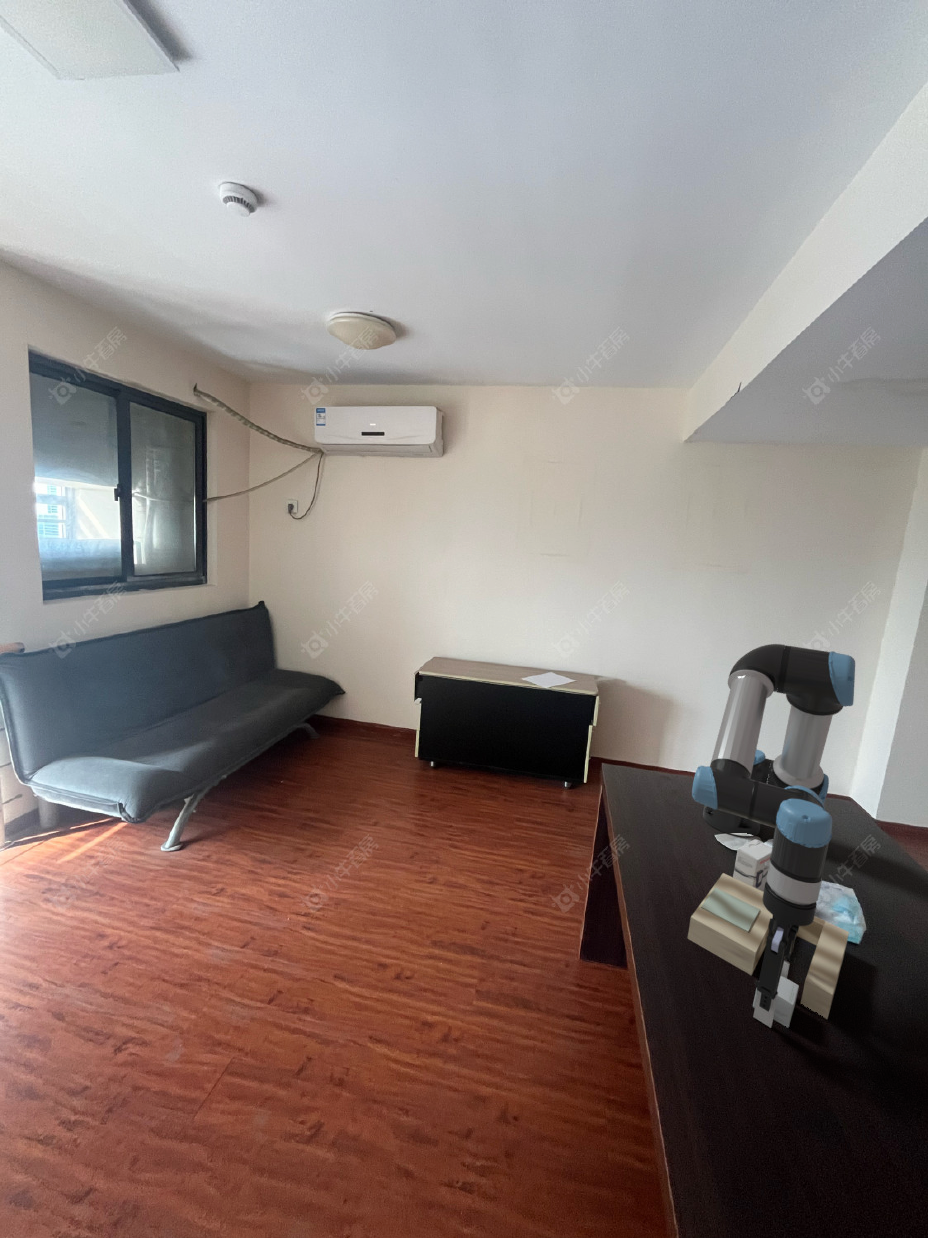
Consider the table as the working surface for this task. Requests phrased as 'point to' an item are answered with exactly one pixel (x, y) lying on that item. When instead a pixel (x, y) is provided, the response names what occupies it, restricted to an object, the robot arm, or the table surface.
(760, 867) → the ink box
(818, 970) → the board
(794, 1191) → the table surface
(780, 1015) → the small box
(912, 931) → the table surface
